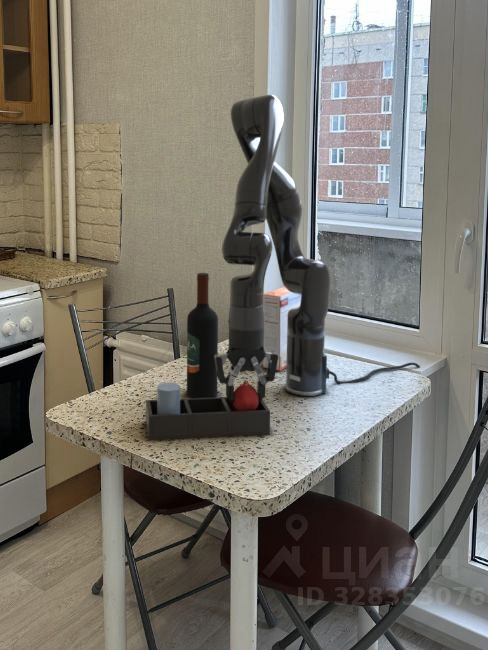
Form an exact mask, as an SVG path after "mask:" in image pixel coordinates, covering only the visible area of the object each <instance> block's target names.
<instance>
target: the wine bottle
mask: <svg viewBox="0 0 488 650" xmlns="http://www.w3.org/2000/svg"><path fill="white" fill-rule="evenodd" d="M209 274H210V273H207V272H197V274H196V275H197V276H196V281H197V282H196V285H197V286H196V307H194V308H193V309H192V310H190V311H189V313H188V314H187V317H186V318H187V319H186V396H187V398H211V397H218V377H217V371H216V365H215V359H214V355H215V354H216V353H218V354H219V316H218V314H217V312H215V311H214V309H212V308H211V307H210V305H209V281H210V276H209Z"/></svg>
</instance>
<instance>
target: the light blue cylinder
mask: <svg viewBox="0 0 488 650" xmlns="http://www.w3.org/2000/svg"><path fill="white" fill-rule="evenodd" d="M180 399H181V385H180V384H179V383H175V382H162V383H159V384H157V386H156V400H157V415H162V414H180Z"/></svg>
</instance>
